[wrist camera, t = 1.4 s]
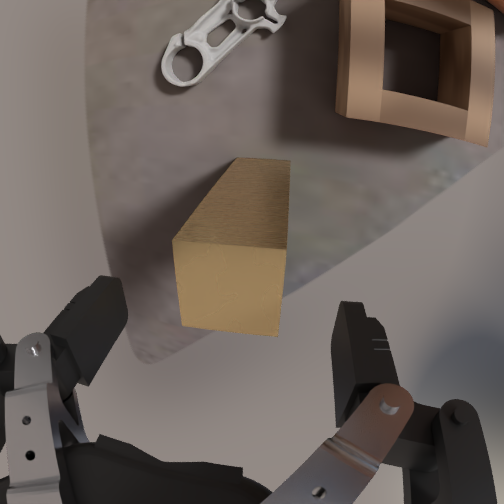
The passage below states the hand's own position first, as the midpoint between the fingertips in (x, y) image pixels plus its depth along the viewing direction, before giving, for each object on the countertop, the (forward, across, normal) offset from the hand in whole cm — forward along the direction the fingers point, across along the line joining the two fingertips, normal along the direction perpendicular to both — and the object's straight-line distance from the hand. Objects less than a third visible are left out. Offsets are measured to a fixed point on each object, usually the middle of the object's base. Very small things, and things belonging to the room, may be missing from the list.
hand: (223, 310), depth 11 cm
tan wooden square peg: (+15, 0, 0) cm, 15 cm away
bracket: (+15, +2, -14) cm, 21 cm away
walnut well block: (+15, -10, -11) cm, 21 cm away
